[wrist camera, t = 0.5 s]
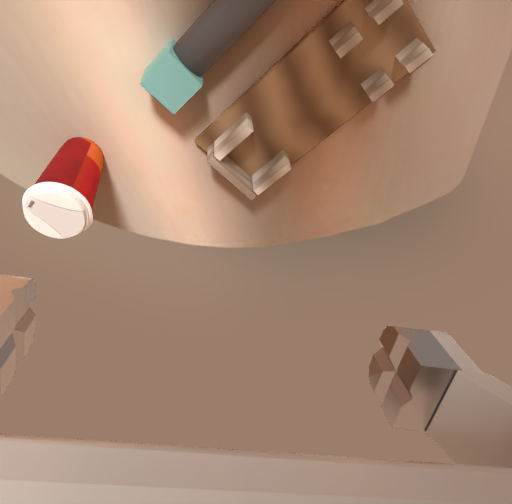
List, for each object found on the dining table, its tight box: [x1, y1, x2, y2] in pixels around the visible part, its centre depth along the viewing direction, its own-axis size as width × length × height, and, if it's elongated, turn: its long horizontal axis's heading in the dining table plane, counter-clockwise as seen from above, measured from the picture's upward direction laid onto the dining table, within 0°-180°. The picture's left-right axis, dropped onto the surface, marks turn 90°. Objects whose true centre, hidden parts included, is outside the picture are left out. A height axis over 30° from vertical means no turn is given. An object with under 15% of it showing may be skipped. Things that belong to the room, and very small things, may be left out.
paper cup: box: [22, 137, 104, 238], centre depth 54 cm, size 8×8×14 cm
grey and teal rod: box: [140, 0, 276, 114], centre depth 46 cm, size 28×5×5 cm, turn 132°
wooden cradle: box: [195, 0, 435, 201], centre depth 54 cm, size 30×12×5 cm, turn 132°
